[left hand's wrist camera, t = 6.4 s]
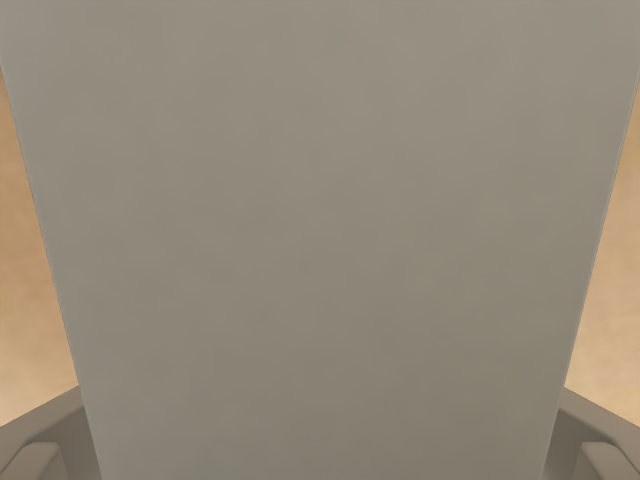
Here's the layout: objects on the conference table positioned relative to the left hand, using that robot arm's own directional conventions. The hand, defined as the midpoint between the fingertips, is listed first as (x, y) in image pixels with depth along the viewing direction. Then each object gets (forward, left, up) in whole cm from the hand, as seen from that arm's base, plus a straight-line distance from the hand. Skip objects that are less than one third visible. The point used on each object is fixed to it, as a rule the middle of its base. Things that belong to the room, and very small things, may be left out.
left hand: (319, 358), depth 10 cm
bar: (-7, +7, -3) cm, 11 cm away
